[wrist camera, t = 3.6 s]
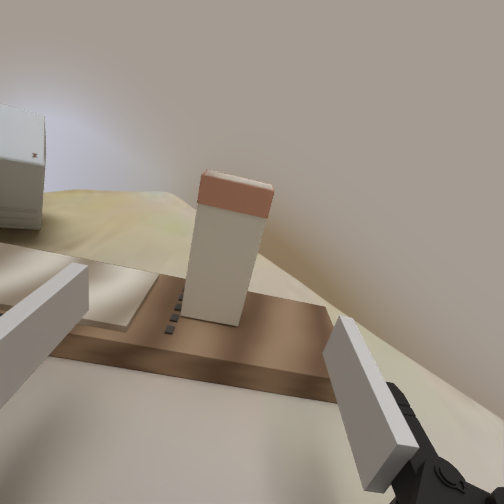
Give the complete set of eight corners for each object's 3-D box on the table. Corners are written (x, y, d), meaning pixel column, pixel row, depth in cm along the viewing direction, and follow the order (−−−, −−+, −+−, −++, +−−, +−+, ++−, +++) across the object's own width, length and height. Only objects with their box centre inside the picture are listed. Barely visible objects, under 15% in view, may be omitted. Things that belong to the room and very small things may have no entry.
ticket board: (-99, 330, 20) (-112, 294, 18) (13, 265, 29) (9, 238, 27) (344, 404, 23) (359, 377, 21) (318, 324, 32) (327, 302, 30)
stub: (179, 315, 24) (201, 174, 19) (185, 299, 26) (207, 169, 21) (238, 326, 24) (274, 191, 19) (239, 309, 26) (272, 184, 22)
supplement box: (42, 186, 39) (48, 114, 30) (40, 231, 36) (46, 166, 28) (-32, 175, 35) (-50, 87, 26) (-41, 226, 32) (-65, 146, 23)
